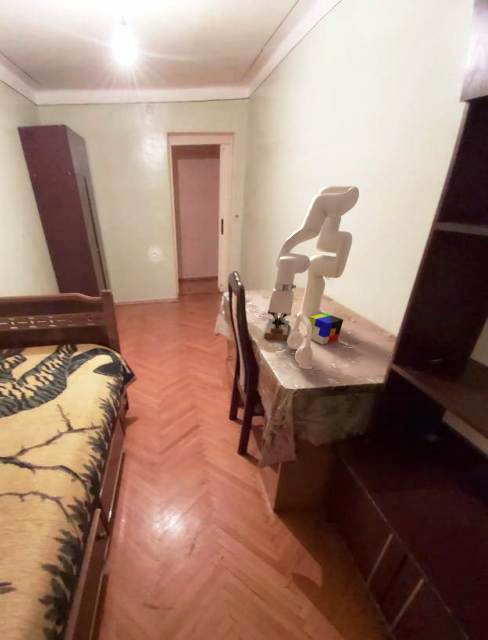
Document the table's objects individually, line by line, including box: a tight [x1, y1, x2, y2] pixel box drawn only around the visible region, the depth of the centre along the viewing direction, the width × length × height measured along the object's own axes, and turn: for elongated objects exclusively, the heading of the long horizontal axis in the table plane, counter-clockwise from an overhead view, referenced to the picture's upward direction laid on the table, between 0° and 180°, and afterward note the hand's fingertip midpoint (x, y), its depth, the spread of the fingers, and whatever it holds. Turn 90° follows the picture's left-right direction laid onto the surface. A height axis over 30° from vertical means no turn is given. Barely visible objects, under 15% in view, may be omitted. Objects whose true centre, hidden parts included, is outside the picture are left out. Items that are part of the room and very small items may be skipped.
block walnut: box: [264, 324, 289, 342], centre depth 152 cm, size 10×10×4 cm
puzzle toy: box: [305, 312, 344, 345], centre depth 147 cm, size 10×10×10 cm
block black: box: [267, 316, 290, 328], centre depth 161 cm, size 10×10×4 cm
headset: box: [286, 314, 314, 370], centre depth 127 cm, size 20×7×18 cm, turn 176°
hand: (277, 326), depth 150 cm, fingers closed
